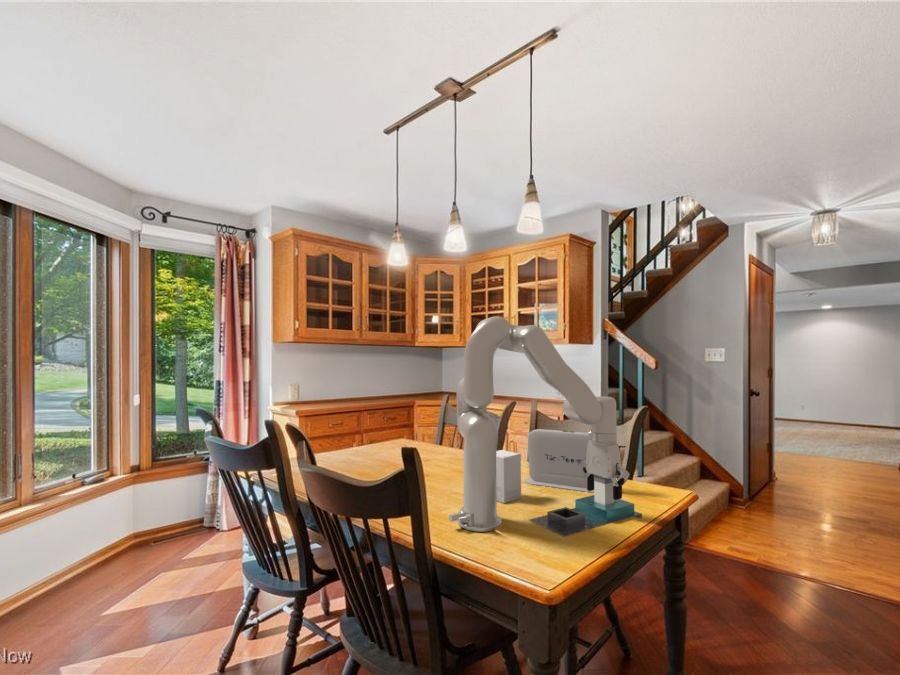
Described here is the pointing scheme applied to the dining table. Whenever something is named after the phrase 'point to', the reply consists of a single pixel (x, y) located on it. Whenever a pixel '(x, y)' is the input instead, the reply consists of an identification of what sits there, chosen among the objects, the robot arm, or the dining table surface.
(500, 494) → the supplement box
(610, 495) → the plug
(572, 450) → the wireless router
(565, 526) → the panel
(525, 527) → the dining table surface
